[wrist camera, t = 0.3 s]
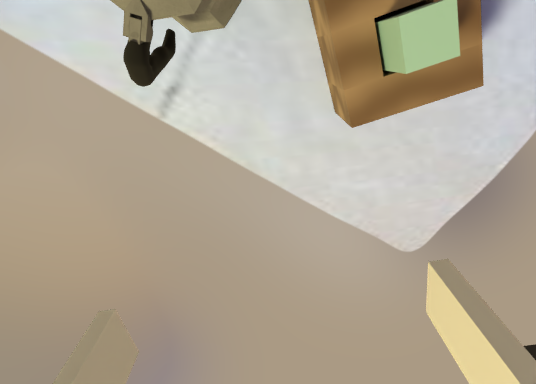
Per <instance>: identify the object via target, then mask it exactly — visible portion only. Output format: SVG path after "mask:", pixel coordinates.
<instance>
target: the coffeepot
mask: <svg viewBox="0 0 536 384" xmlns="http://www.w3.org/2000/svg"><path fill="white" fill-rule="evenodd" d="M111 1H112V2H113V3H114V4H116V5H117V6H118V7H120V8H121V9H122V10H124V27H123V36H126V37H129V40H128V43H127V45H126V48H125V50H124V62H125V65H126V67H127V70H128V73H129V75H130V77H131V79H132V80H133V81H134V82H135V83H136V84H137V85H139V86H148V85H150V84H151V83H152V82H153V81H154V80H155V78H156V77H157V75H158V74H159V73H160V72H161V71H162V70H163V68H164V67H165V66H166V65H167V64H168V62H169V61H170V59H171V58H172V57H173V56H174V54H175V48H176V47H175V32H174V31H172V30H171V29H167V31H166V35H165V38H164V41H163V45H162V46H160V47H158V48H156V49H154V51H153V52H152V54H151V55H150V51H149V49H150V44H151V40H152V36H153V29H152V27H153V20H156V19H163V18H169V17H172V18H174V19H175V20H176V21H177V22H179V23H180V24H181V25H182V26H184V27H185V28H186V29H188V30H189V31H190V32H191V33H194V32H201V31H208V30H213V29H220V28H225V26H226V25H227V23H228V21H229V20H230V18H231V17H232V15H233V14H234V12H235V10H236V8H237V7H238V5H239V4H240V2H241V0H111Z"/></svg>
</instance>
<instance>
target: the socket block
mask: <svg viewBox="0 0 536 384" xmlns="http://www.w3.org/2000/svg"><path fill="white" fill-rule="evenodd" d="M437 1H440V0H309V4H310V8H311V13H312V17H313V21H314V25H315V29H316V34H317V38H318V42H319V46H320V50H321V55H322V59H323V63H324V67H325V72H326V76H327V80H328V84H329V88H330V93H331V97H332V101H333V105H334V109H335V113H336V114H338V115H339V116H340V117H341V118H342V119H343V120H344V121H345V122H346V123H347V124H348V125H350V126H351V127H352V128H353V127H356V126H360V125H363V124H366V123H369V122H372V121H375V120H378V119H381V118H384V117H388V116H391V115H394V114H397V113H400V112H403V111H406V110H409V109H412V108H416V107H419V106H422V105H425V104H428V103H431V102H434V101H437V100H440V99H444V98H447V97H450V96H453V95H456V94H459V93H462V92H465V91H468V90H472V89H475V88H478V87H481V86H483V58H482V27H481V0H457V10H458V26H459V43H460V56H458V57H455V58H452V59H449V60H446V61H443V62H440V63H437V64H434V65H431V66H428V67H426V68H423V69H420V70H417V71H414V72H411V73H408V74H403V73H397V72H391V71H386V70H382V64H381V58H380V52H379V45H378V39H377V33H376V27H375V21H374V18H376V17H379V16H381V15H384V14H387V13H389V12H392V11H395V10H396V14H398V13H401V12H404V11H406V10H409V9H412V8H416V7H419V6H423V5H426V4H430V3H433V2H437Z"/></svg>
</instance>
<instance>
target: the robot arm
mask: <svg viewBox="0 0 536 384" xmlns="http://www.w3.org/2000/svg"><path fill="white" fill-rule="evenodd" d="M426 312H427V314H428V316H429V317H430V319H431V321H432V322H433V324H434V326H435V328H436V329H437V331H438V333H439V334H440V336H441V338H442V339H443V341H444V342H445V344H446V346H447V347H448V349H449V351H450V352H451V354H452V356H453V357H454V359H455V361H456V362H457V364H458V366H459V367H460V369H461V371H462V372H463V374H464V376H465V377H466V379H467V380H468V382H469V384H536V345H528V346H523V345H522V344H521V343H520V342H519V340H518V339H517V338H516V337H515V336H514V335H513V334H512V332H511V331H510V330H509V329H508V328H507V327H506V325H505V324H504V323H503V322H502V321H501V320H500V318H499V317H498V316H497V315H496V314H495V313H494V311H493V310H492V309H491V308H490V307H489V306H488V305H487V303H486V302H485V301H484V300H483V299H482V298H481V296H480V295H479V294H478V293H477V292H476V291H475V290H474V288H473V287H472V286H471V285H470V284H469V282H468V281H467V280H466V279H465V278H464V277H463V276H462V275H461V273H460V272H459V271H458V270H457V269H456V267H455V266H454V265H453V264H452V263H451V262H450V261H449V259H444V260H437V261H432V262H428V281H427V304H426ZM138 353H139V351H138V349H137V347H136V345H135V344H134V342H133V340H132V338H131V336H130V334H129V333H128V331H127V329H126V327H125V325H124V324H123V322H122V320H121V318H120V316H119V315H118V313H117V311H116V309H112V310H106V311H100V312H98V314H97V315H96V317H95V318H94V320H93V321H92V323H91V324H90V326H89V328H88V329H87V331H86V332H85V334H84V335H83V337H82V339H81V340H80V342H79V343H78V345H77V346H76V348H75V349H74V351H73V352H72V354H71V356H70V357H69V359H68V360H67V362H66V363H65V365H64V367H63V368H62V370H61V371H60V373H59V374H58V376H57V377H56V379H55V381H54V383H53V384H126V381H127V379H128V377H129V374H130V372H131V370H132V367H133V365H134V363H135V360H136V358H137V355H138Z"/></svg>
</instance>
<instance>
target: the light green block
mask: <svg viewBox="0 0 536 384" xmlns="http://www.w3.org/2000/svg"><path fill="white" fill-rule="evenodd" d="M375 27H376V33H377V39H378V45H379V52H380V58H381V64H382V70H386V71H391V72H397V73H403V74H408V73H411V72H414V71H417V70H420V69H423V68H426V67H428V66H431V65H434V64H437V63H440V62H443V61H446V60H449V59H452V58H455V57H458V56H460V43H459V26H458V10H457V0H440V1H437V2H433V3H430V4H426V5H423V6H419V7H416V8H412V9H409V10H406V11H404V12H401V13H398V14H395V15H393V16H390V17H387V18H385V19H382V20H379V21H376V22H375Z"/></svg>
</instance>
